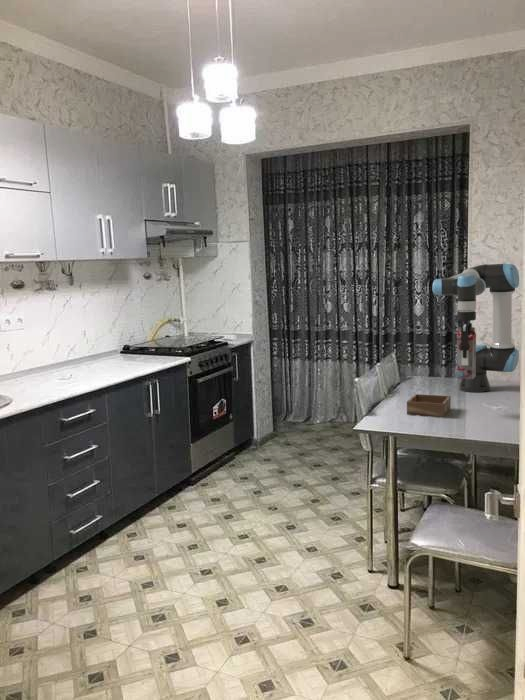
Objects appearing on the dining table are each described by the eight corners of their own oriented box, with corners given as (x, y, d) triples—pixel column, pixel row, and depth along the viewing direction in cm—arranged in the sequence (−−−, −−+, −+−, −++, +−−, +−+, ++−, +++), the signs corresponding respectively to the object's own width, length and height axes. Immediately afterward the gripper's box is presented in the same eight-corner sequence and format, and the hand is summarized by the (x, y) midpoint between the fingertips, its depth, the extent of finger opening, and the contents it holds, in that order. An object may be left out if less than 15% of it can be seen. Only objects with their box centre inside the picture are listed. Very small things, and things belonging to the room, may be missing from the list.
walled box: (415, 406, 277) (415, 394, 276) (450, 409, 270) (450, 396, 269) (406, 414, 263) (406, 401, 262) (443, 417, 256) (443, 404, 255)
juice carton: (472, 379, 252) (472, 328, 249) (456, 378, 256) (456, 327, 252) (475, 376, 258) (476, 326, 255) (460, 375, 261) (460, 326, 258)
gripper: (461, 308, 263) (460, 359, 266) (453, 313, 245) (453, 367, 249) (478, 308, 259) (478, 360, 263) (472, 313, 242) (472, 368, 245)
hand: (466, 363), depth 256 cm, fingers closed on juice carton, 7 cm apart
